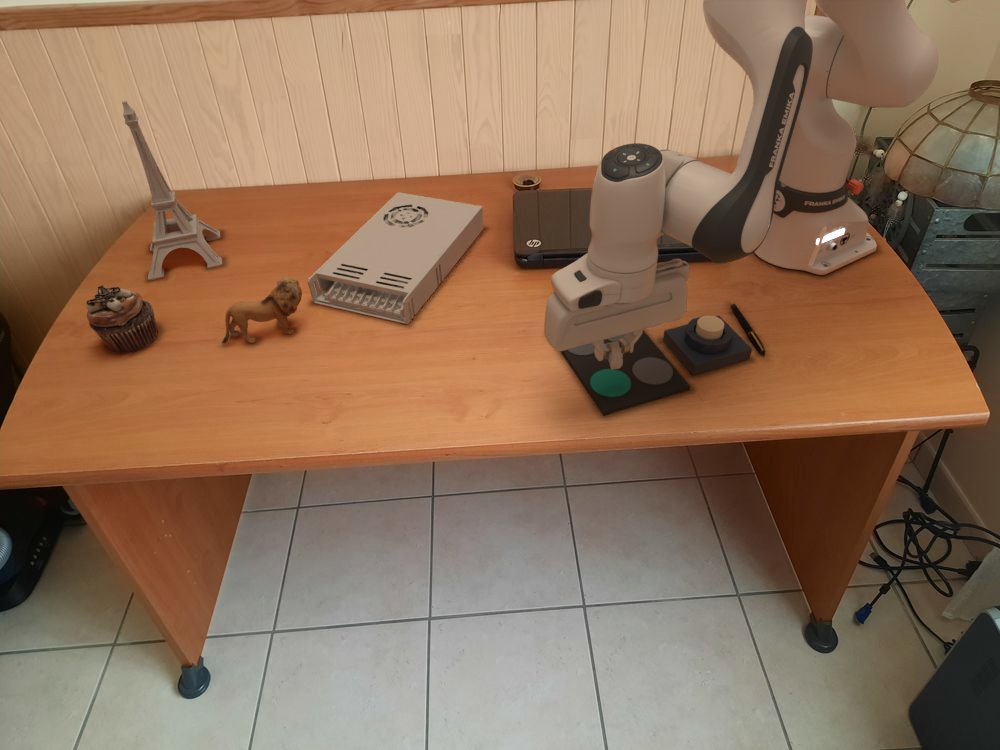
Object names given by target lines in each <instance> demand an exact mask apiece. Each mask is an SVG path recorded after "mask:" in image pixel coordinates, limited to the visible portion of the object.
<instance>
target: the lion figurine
mask: <svg viewBox="0 0 1000 750" xmlns="http://www.w3.org/2000/svg"><path fill="white" fill-rule="evenodd" d="M276 284H277V285H276V287H274V288H273V290H271V291H270V293H269V294H268V295H267V296H266V297H265V298H264V299H261V300H258V301H251V302H248V301H238V302H234V303H233V304H232V305H230V306H229V307H228V308H227V309H226V312H225V336H224V337H223V339H222V341H221V344H226V343H227V342H228V341H229V338H230V335H231V336H232V337H238V336H239V335H241V337H242V338H244V339H245V340H246V341H247V342H248V343H249V344H255V343H256V342H257V339H256V337H254V336H252V337H251V336H249V334H248V327H249V323H248V321H249V320H250V321H254V322H257V323H265V322H270V321H273V320H277V324H278V325H279V326H280V327H281V329H282V331H283V332H284V334H286V335H292V334H293V333H294V330H293V328H289V321H288V317H290V316H291V315H293V314H295V313H296V311H297V309H298V306H299V304H300V302H301V301H302V296H303V290H302V287H301V286H300V283H299V280H298V279H297V278H294V277H290V276H284V277H282V278H280V279H279V280H277V281H276ZM236 327H238V328H239V330H240V331H239V330H235V329H236Z"/></svg>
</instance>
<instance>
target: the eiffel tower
mask: <svg viewBox="0 0 1000 750" xmlns="http://www.w3.org/2000/svg"><path fill="white" fill-rule="evenodd" d="M121 103H122V107H123V113H122V115H123V116H122V117H123V118H124V124H125V125H126V126H128V128H129V130H130V133H131V135H132V138H133V140H134V144H135V145H136V148H137V152H138V155H139V158H140V161H141V164H142V167H143V170H144V173H145V177H146V180H147V183H148V187H149V191H150V196H151V207H152V208H153V209H154V215H155V216H154V217H155V218H154V220H155V221H153V229H152V230H153V231H152V240H151V241H152V242H151V243H150V252H151V253H152V257H151V263H150V268H149V271H148V274H147V275H148V276H147V280H148V281H149V282H150V281H154V280H160V279H164V278H165V269H164V268H163V262H164V260H165V258H166V256H168V254H169V253H170V252H172V251H173V250H177V249H181V248H182V249H183V248H184V249H190V250H192V251H195V252H196V253H197V254H199V255H200V256H201V257H202V258H203V260H204V261H205V262H206V267H207V269H214V268H218V267H223V258H222V256H219V255H218V254H217V253H216V252H215V250H214V249H213V248H212V247H211V246H210V245H209V243H208V242H211V241H214V240H220V239H221V231H220V230H219V229H216V228H215V227H212V226H211V225H210V224H208V223H206V222H204V221H202V220H200V219H199V218H198V214H197V213H195V214H194V213H193V214H192V213H191V212H190V211H188V209H187V208H186V207H185V206H184V205H183V204H182V203H181V202H180V200H179V199H178V198H177V197H176V196H177V195H176V193H177V192H176V191H172V190H171V188H170V186H169V184H168V183H167V180H166V179H165V177H164V175H163V173H162V171H161V169H160V168H159V166H158V163H157V161H156V160H155V158H154V156H153V153H152V151H151V149H150V146H149V144H148V142H147V140H146V138H145V135H144V134H143V131H142V129H141V127H140V124H139V116H138V115H137V114H136V110H135V109H134V108H133V107H131V106H130V104H129V102H128V101H127V100H122V102H121ZM168 211H169V212H170V214H171V215H172V217H173V218H167V216H166V212H168Z"/></svg>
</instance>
